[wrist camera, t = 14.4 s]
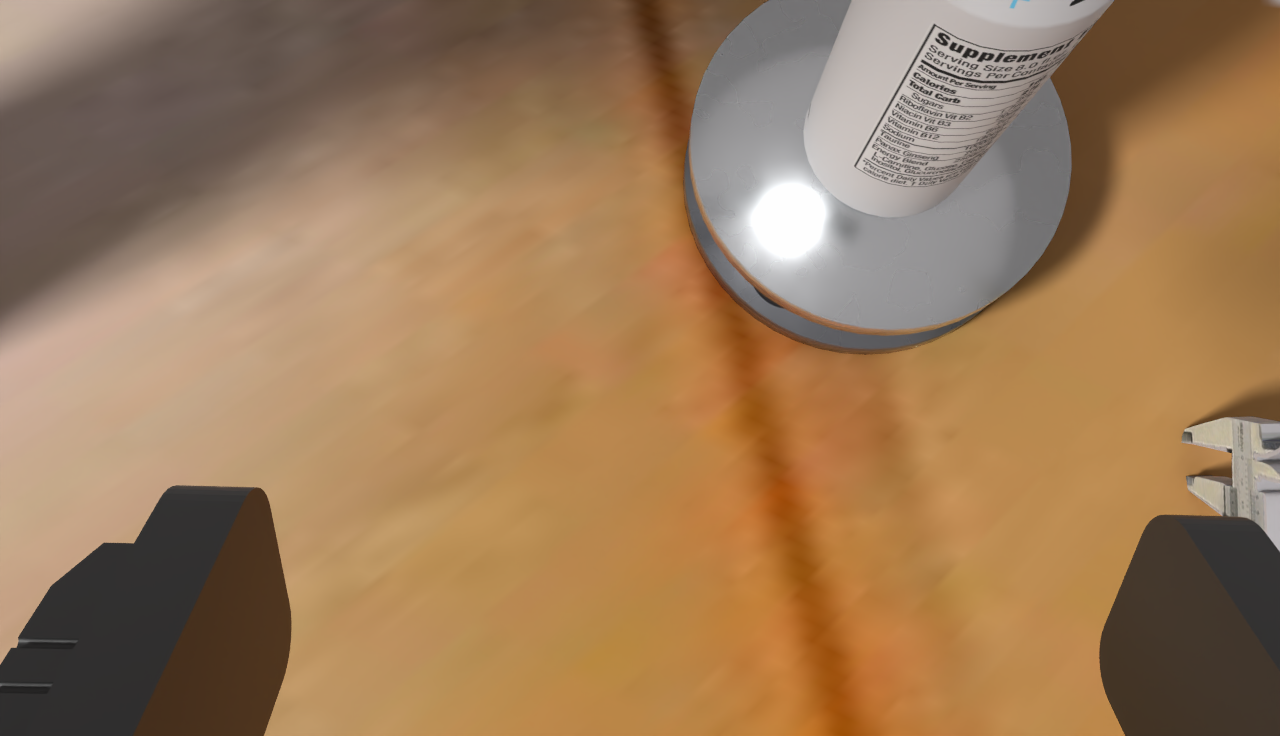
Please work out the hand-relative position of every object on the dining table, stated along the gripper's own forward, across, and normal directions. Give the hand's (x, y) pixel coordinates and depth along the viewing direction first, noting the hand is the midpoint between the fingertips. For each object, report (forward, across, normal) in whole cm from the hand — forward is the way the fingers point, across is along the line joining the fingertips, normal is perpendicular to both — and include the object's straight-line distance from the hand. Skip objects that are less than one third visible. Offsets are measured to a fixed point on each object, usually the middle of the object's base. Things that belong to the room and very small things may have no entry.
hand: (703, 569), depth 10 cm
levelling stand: (+32, -9, +10) cm, 34 cm away
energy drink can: (+29, -9, +7) cm, 31 cm away
